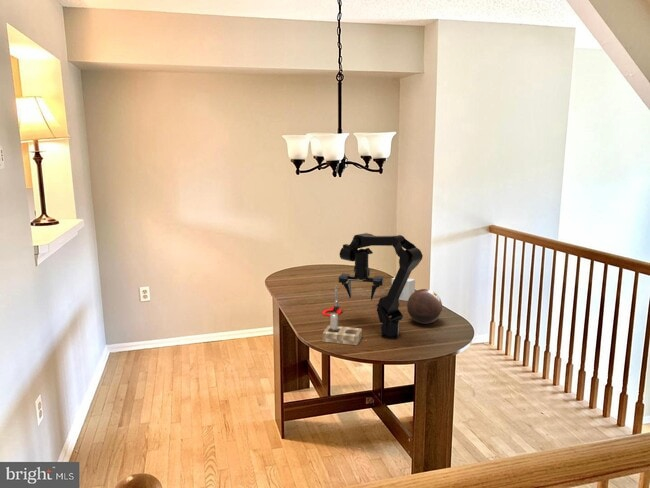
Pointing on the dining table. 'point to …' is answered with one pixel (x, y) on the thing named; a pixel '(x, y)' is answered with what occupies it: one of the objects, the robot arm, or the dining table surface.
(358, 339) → the pin block
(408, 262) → the robot arm
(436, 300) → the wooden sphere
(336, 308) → the tow hook
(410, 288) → the skincare box
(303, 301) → the dining table surface
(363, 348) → the dining table surface
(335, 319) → the metal pin
